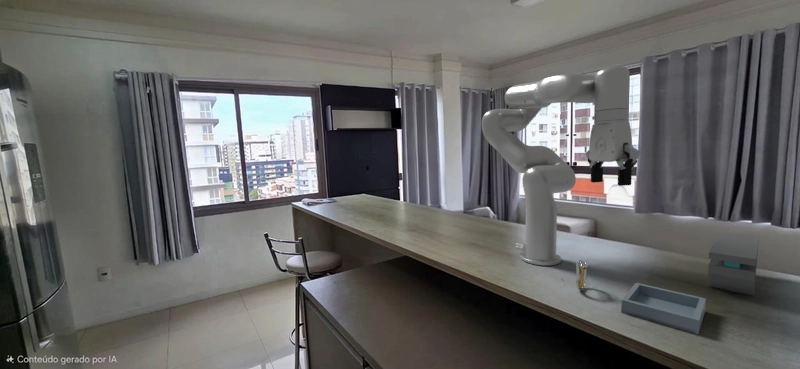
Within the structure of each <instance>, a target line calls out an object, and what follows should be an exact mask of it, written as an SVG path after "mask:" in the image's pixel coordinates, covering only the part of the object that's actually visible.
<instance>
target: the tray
mask: <svg viewBox="0 0 800 369" xmlns="http://www.w3.org/2000/svg"><path fill="white" fill-rule="evenodd" d="M706 304H707V298H704V297H701V296H697V295H692V294H688V293H684V292H679V291H674V290H670V289H666V288H661V287H657V286H651V285H648V284H643V283H640V282H635V283H634V284H633V286H632V287H631V288H630V289H629V290H628V291H627V293H626V294H625V295H624V296H623V297H622V299H621V307H620V309H621V310H620V313H622V314H625V315H628V316H632V317H636V318H639V319H641V320H642V319H643V320H646V321H650V322H653V323H656V324H660V325H664V326H666V327H669V328H674V329H676V330H681V331H683V332H688V333H690V334H693V335H694V334H695V335H698V336H699V334H700V331H701V327H702V323H703V320H704V316H705V313H706V306H707V305H706Z"/></svg>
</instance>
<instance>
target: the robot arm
mask: <svg viewBox="0 0 800 369" xmlns="http://www.w3.org/2000/svg"><path fill="white" fill-rule="evenodd" d="M630 74H631V73H630V69H629V68H628V67H625V66H613V67H612V66H611V67H606V68H603V69H601V70H599V71H596V73H595V74H586V73H585V74H584V73H563V74H558V75H553V76H547V77H545V78H542V79H541V80H537V81H536V80H535V81H532V82H531V81H530V82H526V83H525V82H524V83H519V84H518V83H517V84H515V85H513V86H511V87H509V88H508V89H507V90H506V92H505V93H504V102H505V104H506V106H508V107H509V108H495V109H491V110H488V111H487V112H485V113H484V114H483V116H482V118H481V131H482V134H483V137H484V138H485V140H486V142H488V144H489V145H490V146H492V148H494V149H495V151H496V152H498V153H499V155H500V156H501V157H502V158H503V159H504V161H506V163H507V164H508V165H509V166H510V168H512V170H514V171H515V172H516V173H519V174H523V176H522V188H523V192H524V198H525V199H524V201H525V243H521V242H515V245H514V246H515V247H514V248H515V250H518V251H521V254H520V259H521V260H522V261H523V262H525V263H528V264H532V265H536V266H556V265H559V264H560V263H562V257H561V256H560V255H559V254H557V236H558V235H557V228H558V225H557V224H558V217H557V216H558V210H557V209H558V207H557V204H556V203H557V202H556V201H555V198H554V197H553V196H554V195H553V194H559V193H565V192H568V191H570V190H572V189H573V188H574V187H575V184H576V182H577V181H576V180H577V178H576V173H575V171H574V170H573V169H572V167H571V166H570V165H569V164H568V163H567V162H566V161H565V160H564V159H562V158H561V157H560V155H558V154H557V153H556V152H555V151H554V150H553V149H551V148H549V147H547V146H545V145H544V146H543V145H528V144H526V143H525V142H523V141H521V139H520V138H519V137H518V136H517V135H515V134H513V133H512V132H520V131H523V130H524V129H526V128H527V126H529V124H531V122H532V121H533V119H534V118H535V117H537V115H538V114H539V113H540V112H541V110H542V109H543V108H547V107H548V106H550V105H552V104H558V103H577V104H579V103H580V104H591V103H594V107H593V109H594V110H593V114H594V115H593V124H592V127H591V131H590V137H589V146H588V147H589V149H588V150H587V151H586V152H585V155H586V158H587V163H588V165H589V169H590V182H591V183H593V184H594V183H602V182H603V180H604V167H602V166H603V165H604V163H612V162H616V164H617V165H618V167H619V169H617V185H618V186H623V187H624V186H631V185H632V176H633V175H632V170H633V169H634V168H635V165H636V164H637V163H638V159H639V157H640V154H641V151H640V150H639V149H637V148H635V147H633V138H632V128H631V123H630V121H629V120H630V119H629V118H630V114H629V113H630V109H629V108H630V79H631V78H630V77H631V76H630Z"/></svg>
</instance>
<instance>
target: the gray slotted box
mask: <svg viewBox="0 0 800 369" xmlns="http://www.w3.org/2000/svg"><path fill="white" fill-rule="evenodd" d="M759 242H760V237H759V236H754V235H753V236H751V235H744V234H743V235H742V234H735V233H729V232H728V233H727V232H719V233H718V235H717V237H716V239H715V240H714V243H712V246H711V248H710V250H709V252H708V259H710V260H709V263H708V269H707V270H708V271H707V274H708V284H709V287H710V288H714V287H715V288H716V289H719V288H720V290H724V289H725V291H729V290H730V291H729V292H733V291H734V292H735V293H738V292H739V294H744V295H747V296H753V297H754V296H755V287H756V286H755V285H756V276H757V266H758V254H759V253H758V251H759ZM715 288H714V289H715Z"/></svg>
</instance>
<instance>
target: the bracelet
mask: <svg viewBox="0 0 800 369" xmlns="http://www.w3.org/2000/svg"><path fill="white" fill-rule="evenodd" d="M574 264H575V266H576V269H575V270H576V272H575V273H576V277H575V278H576V280H575V281H576V282H575V284H576V288H577V290H578V291H584V289H585V285H586V283H587V274H588V267H589V263H588V262H587V260H584V259H582V260H580V259H578V261H575V262H574ZM580 271H581V272H580Z"/></svg>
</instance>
